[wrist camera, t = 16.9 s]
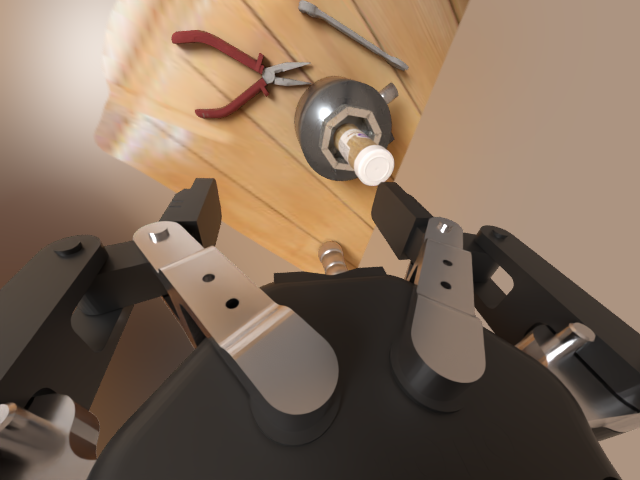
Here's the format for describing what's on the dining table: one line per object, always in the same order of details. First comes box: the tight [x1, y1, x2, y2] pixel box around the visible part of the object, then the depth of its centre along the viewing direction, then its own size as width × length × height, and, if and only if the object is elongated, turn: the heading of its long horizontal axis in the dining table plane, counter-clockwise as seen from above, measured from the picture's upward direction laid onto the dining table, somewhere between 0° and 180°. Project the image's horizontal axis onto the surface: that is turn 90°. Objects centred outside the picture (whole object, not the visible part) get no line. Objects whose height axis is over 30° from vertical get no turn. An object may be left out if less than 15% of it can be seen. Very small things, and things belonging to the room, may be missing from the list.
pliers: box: [172, 30, 311, 118], centre depth 38 cm, size 12×20×3 cm, turn 92°
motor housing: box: [294, 76, 398, 181], centre depth 41 cm, size 15×18×12 cm
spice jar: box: [333, 123, 394, 186], centre depth 33 cm, size 5×5×13 cm
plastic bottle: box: [318, 241, 348, 275], centre depth 58 cm, size 6×7×20 cm
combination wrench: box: [298, 0, 408, 71], centre depth 38 cm, size 4×1×20 cm
